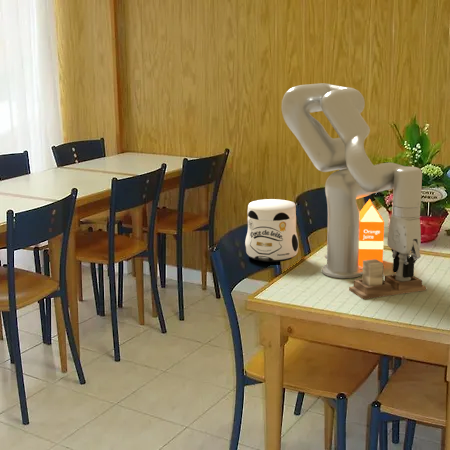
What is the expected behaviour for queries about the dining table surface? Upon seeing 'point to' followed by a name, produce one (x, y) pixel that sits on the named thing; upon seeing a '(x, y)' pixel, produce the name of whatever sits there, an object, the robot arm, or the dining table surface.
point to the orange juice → (370, 234)
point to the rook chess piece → (401, 269)
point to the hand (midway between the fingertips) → (403, 273)
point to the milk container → (271, 230)
